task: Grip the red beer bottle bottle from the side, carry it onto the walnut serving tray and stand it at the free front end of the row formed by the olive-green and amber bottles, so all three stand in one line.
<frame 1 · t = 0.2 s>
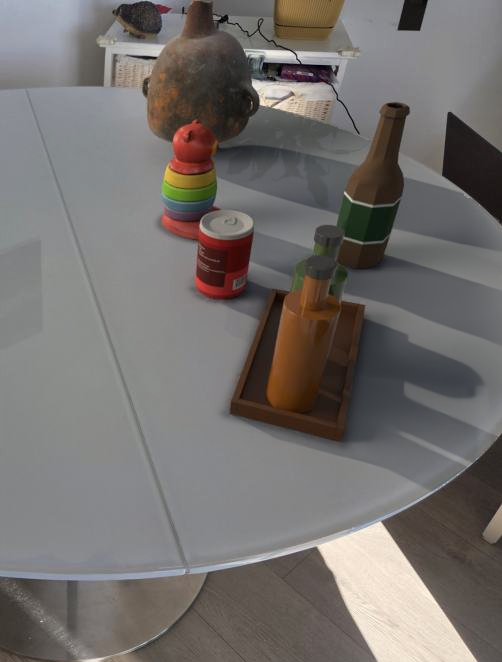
hand: (411, 18, 89), 32 cm above the table, tool pointing down, fingers open, 13 cm apart
green bottle: (300, 362, 83), point 1 cm above the table, touching tray
amber bottle: (290, 397, 78), point 1 cm above the table, touching tray
beer bottle: (355, 258, 102), on the table
tray: (300, 361, 84), on the table
jug: (194, 149, 141), on the table
canned food: (219, 286, 99), on the table
stacking bear: (188, 224, 115), on the table
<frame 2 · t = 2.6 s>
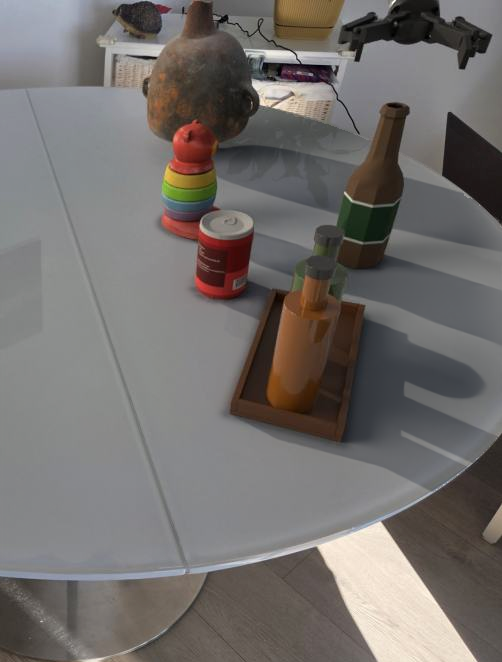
hand: (411, 55, 90), 28 cm above the table, tool horizontal, fingers open, 13 cm apart
nothing on the table moved.
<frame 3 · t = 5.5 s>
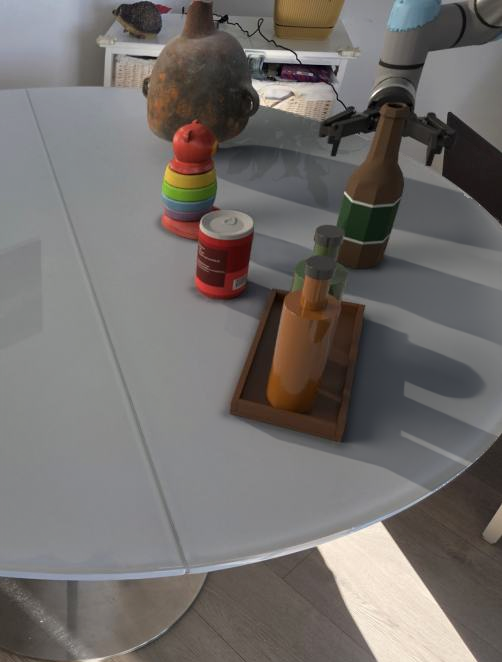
hand: (381, 153, 99), 14 cm above the table, tool horizontal, fingers open, 13 cm apart
nothing on the table moved.
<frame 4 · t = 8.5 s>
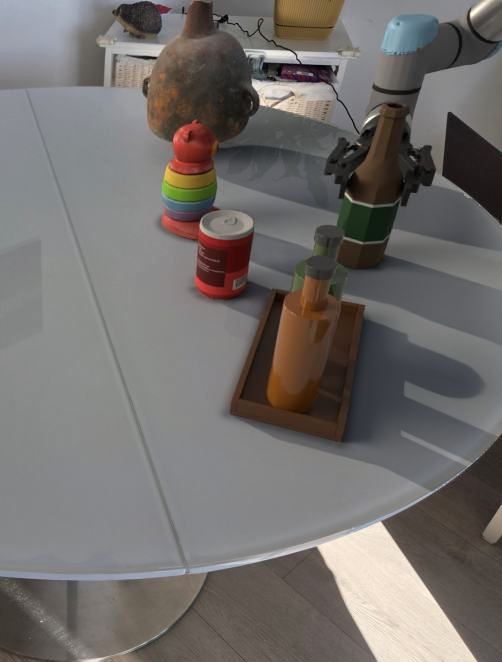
hand: (373, 193, 90), 13 cm above the table, tool horizontal, fingers closed on beer bottle, 7 cm apart
beer bottle: (355, 258, 102), on the table, touching gripper
everything else where it was.
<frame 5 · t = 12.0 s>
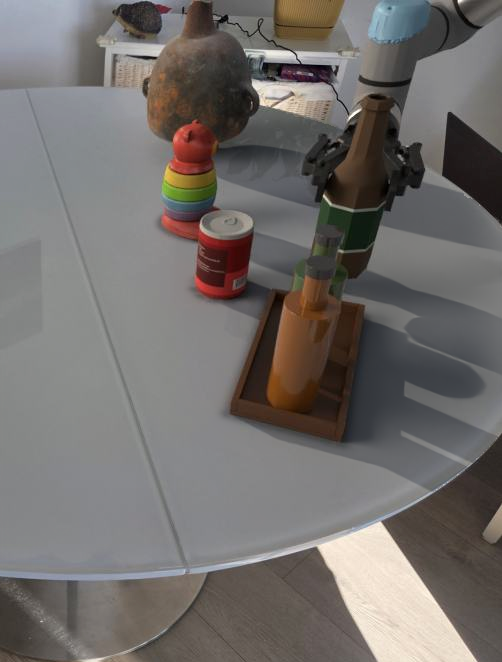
hand: (354, 196, 80), 18 cm above the table, tool horizontal, fingers closed on beer bottle, 7 cm apart
beer bottle: (336, 267, 92), point 5 cm above the table, touching gripper
everything else where it was.
when the fingers open (14 cm above the table, at t = 15.3 s): beer bottle stays where it is, resting on tray.
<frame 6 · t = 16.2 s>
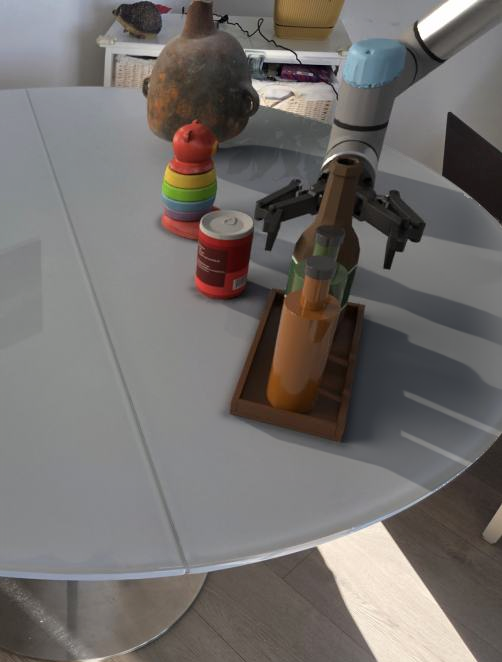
hand: (327, 250, 77), 15 cm above the table, tool horizontal, fingers open, 13 cm apart
beer bottle: (308, 328, 88), resting on tray
everything else where it was.
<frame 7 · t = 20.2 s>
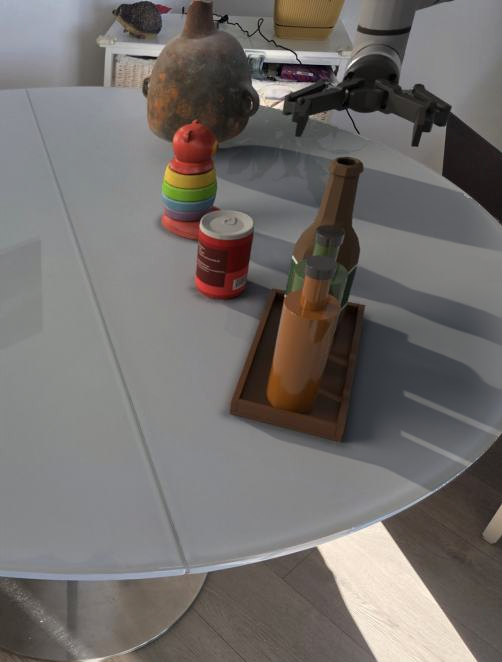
hand: (356, 131, 80), 25 cm above the table, tool horizontal, fingers open, 13 cm apart
nothing on the table moved.
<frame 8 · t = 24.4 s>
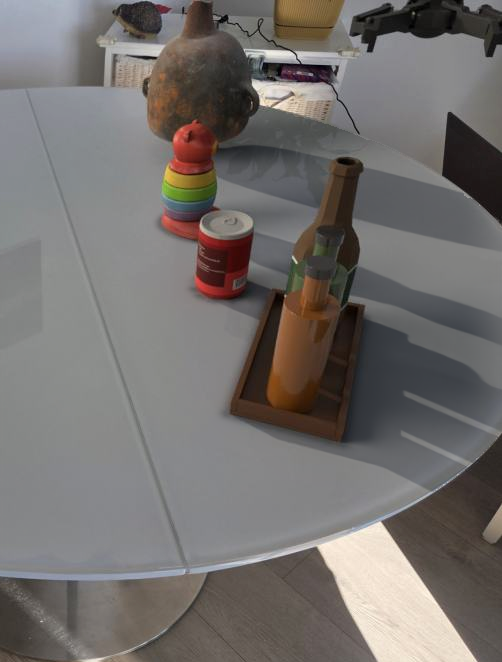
hand: (430, 43, 81), 32 cm above the table, tool horizontal, fingers open, 13 cm apart
nothing on the table moved.
at the end: beer bottle 0.1 cm from the target spot in the tray, point 0.4 cm above the tray's base; beer bottle tilted 0°; amber bottle moved 0.0 cm from its start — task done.
